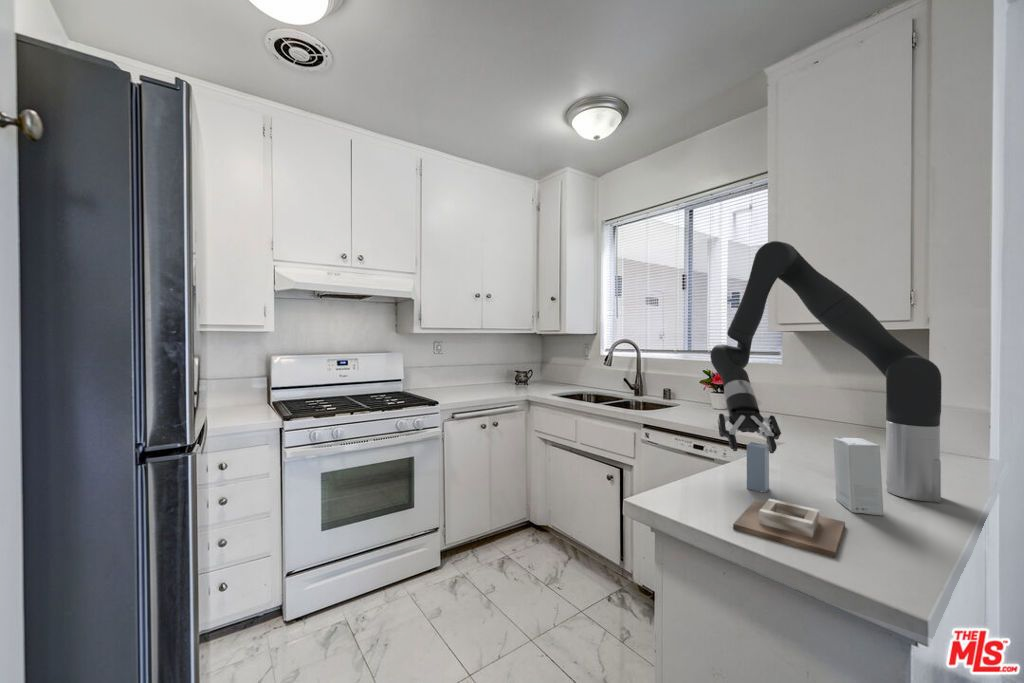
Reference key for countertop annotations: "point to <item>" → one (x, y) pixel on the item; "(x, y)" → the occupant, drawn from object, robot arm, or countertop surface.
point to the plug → (758, 466)
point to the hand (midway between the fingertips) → (754, 450)
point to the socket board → (792, 526)
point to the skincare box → (858, 475)
